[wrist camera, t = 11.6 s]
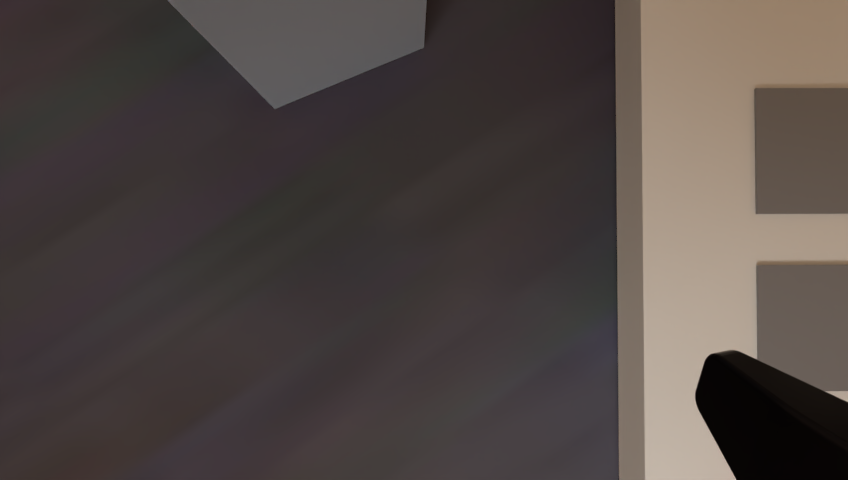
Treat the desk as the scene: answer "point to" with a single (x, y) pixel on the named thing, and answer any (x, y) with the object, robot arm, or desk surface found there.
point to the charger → (306, 39)
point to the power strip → (726, 210)
